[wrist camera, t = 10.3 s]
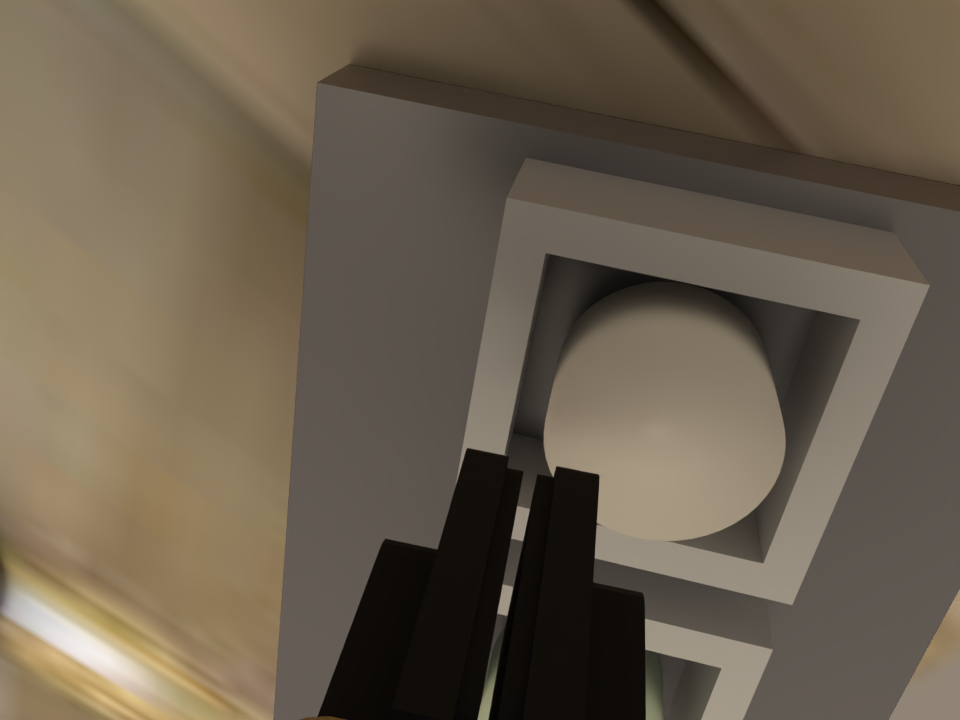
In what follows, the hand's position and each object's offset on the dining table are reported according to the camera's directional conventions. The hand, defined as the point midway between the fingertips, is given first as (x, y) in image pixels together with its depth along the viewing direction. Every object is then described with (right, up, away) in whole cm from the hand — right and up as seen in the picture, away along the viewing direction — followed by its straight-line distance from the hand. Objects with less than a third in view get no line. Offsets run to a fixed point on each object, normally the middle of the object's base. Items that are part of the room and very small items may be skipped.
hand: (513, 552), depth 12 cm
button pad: (+2, -3, +12) cm, 13 cm away
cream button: (+3, +2, +6) cm, 7 cm away
